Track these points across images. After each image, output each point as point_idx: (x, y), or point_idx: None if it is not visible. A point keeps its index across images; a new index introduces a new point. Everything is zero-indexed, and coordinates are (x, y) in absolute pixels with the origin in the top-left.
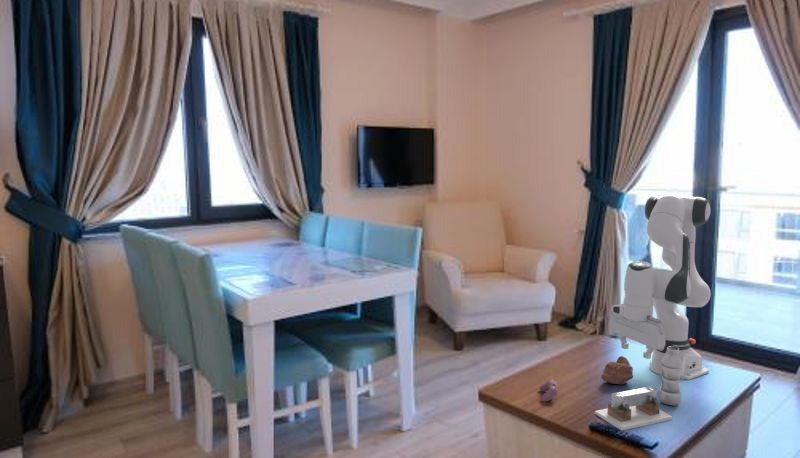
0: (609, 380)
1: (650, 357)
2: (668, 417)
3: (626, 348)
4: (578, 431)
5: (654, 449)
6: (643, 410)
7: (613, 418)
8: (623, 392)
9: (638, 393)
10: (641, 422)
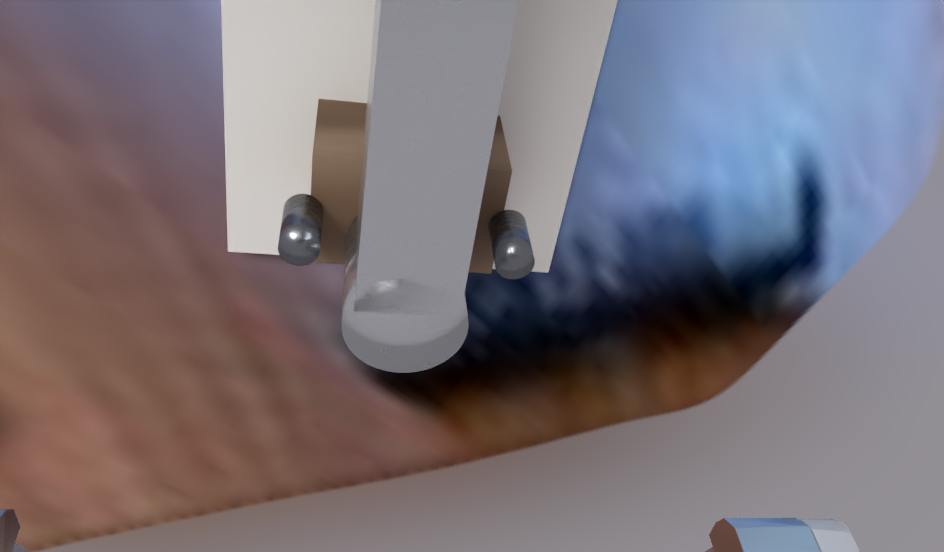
0: None
1: (842, 538)
2: None
3: (12, 547)
4: (402, 464)
5: (833, 256)
6: None
7: None
8: (385, 234)
9: (496, 104)
10: (586, 72)
